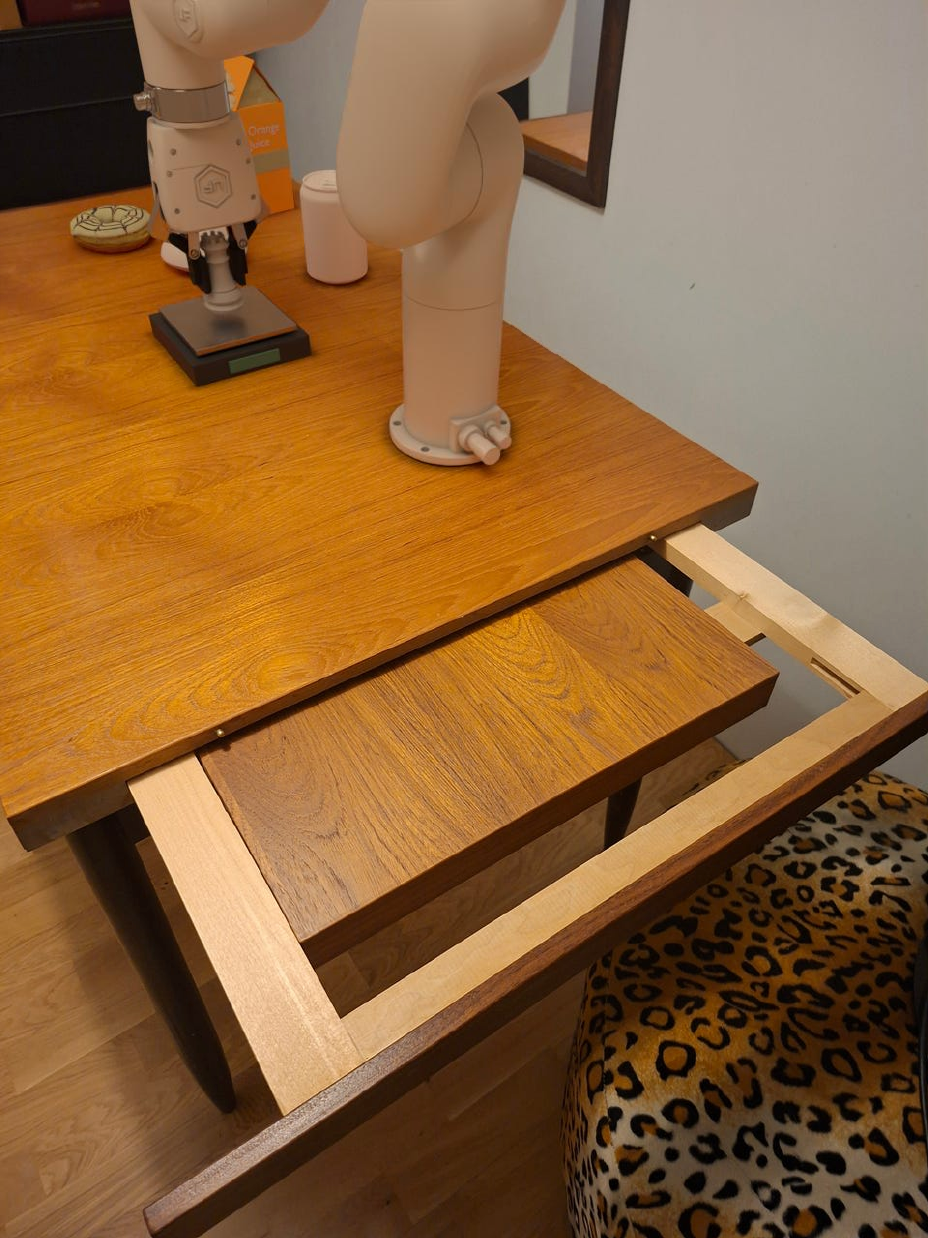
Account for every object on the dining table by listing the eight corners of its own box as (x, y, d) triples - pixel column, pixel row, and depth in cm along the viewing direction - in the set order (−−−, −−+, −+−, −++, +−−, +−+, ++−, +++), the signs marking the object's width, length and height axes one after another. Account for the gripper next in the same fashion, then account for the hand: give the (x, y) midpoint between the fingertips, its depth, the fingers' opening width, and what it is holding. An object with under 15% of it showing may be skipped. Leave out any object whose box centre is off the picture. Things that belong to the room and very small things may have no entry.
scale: (312, 355, 101) (310, 335, 99) (197, 387, 95) (193, 367, 94) (261, 307, 109) (258, 288, 108) (152, 334, 104) (148, 314, 102)
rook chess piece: (247, 297, 101) (236, 227, 95) (241, 315, 98) (230, 243, 92) (208, 296, 101) (195, 226, 95) (201, 314, 98) (187, 242, 92)
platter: (297, 330, 99) (296, 324, 99) (197, 356, 95) (196, 350, 94) (254, 290, 106) (253, 284, 106) (158, 312, 101) (157, 307, 101)
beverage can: (372, 263, 120) (368, 170, 111) (362, 289, 114) (357, 193, 105) (315, 259, 120) (306, 166, 112) (301, 284, 114) (291, 188, 106)
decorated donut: (94, 224, 126) (86, 197, 124) (165, 229, 126) (160, 202, 123) (63, 253, 119) (54, 224, 116) (139, 258, 118) (132, 230, 116)
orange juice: (265, 191, 138) (246, 43, 124) (295, 208, 133) (279, 56, 119) (221, 201, 134) (196, 50, 120) (250, 219, 129) (228, 64, 115)
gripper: (118, 123, 79) (161, 315, 92) (284, 100, 86) (302, 282, 99) (92, 102, 83) (137, 288, 96) (252, 81, 90) (274, 258, 103)
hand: (221, 283), depth 97 cm, fingers closed on rook chess piece, 3 cm apart
